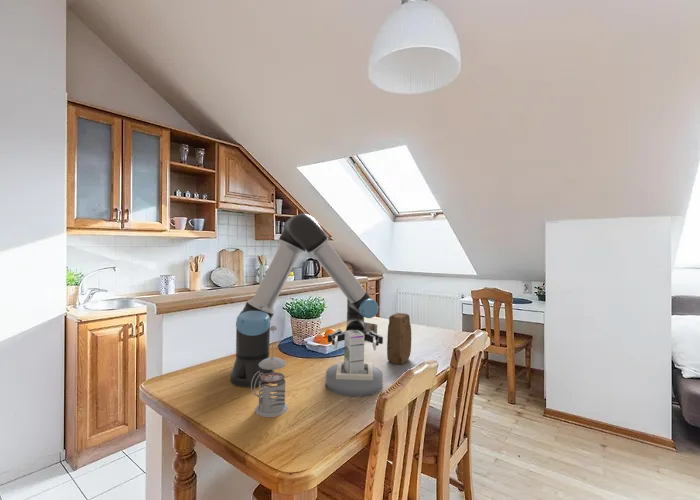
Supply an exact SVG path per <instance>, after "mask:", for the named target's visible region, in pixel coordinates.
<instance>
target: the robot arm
mask: <svg viewBox="0 0 700 500" xmlns="http://www.w3.org/2000/svg"><path fill="white" fill-rule="evenodd" d="M278 242H279V246H278V249H277V250H276V252H275V254H274V255H273V256H274V257H273V258H272V261H271V263H270V264H269V266H268V268H267V270H266V272H265V274H264V276H263V278H262V280H261V282H260V284H259V286H258V288H257V289H256V292H255V293H254V296H253V298H251V299H248V300H247V301H246V303H245V305H244V307H243V309H242V310H241V311H240V313H239V314H238V316H237V317H236V321H235V328H236V330H235V332H236V333H235V334H236V336H235V337H236V338H235V360H234V363H233V365H232V369H231V373H230V377H229V378H230V379H229V380H230V383H231V384H232V385H234V386H237V387H244V388H249V387H250V388H251V382H252V388H254V384H255V381H256V379H257V377H258V376H259V375H260V374H261V373H263V374H265V373H272V370H266V369H262V368H260V367H259V363H260V362H261V361H262V360H264V359H267V358H271V357H270V339H271V338H270V337H271V335H270V334H271V330H270V327H271V320H272V318H273V316H274V314H275V311H274V306H275V304H276V302H277V300H278V297H279V295H280V294H281V292H282V289H283V288H284V285H285V283H287V279H288V278H289V276H290V274H291V271H292V270H293V268H294V266H295V263H296V261H297V259H298V258H299V255H300V254H303V253H305V252H307V254H311V255H312V256H313V257H314V258H315V259H316V260H317V262H318V264H320V266H321V267H322V268H323V270H324V271H325V272H326V273H327V275H328V276H329V278H331V279H332V281H333V282H334V284H336V286H337V287H338V288H339V290H340V291H341V292H342V294H343V295H344V296H345V297H346V299H347V301H346V304H347V305H346V306H347V307H346V308H347V309H346V326H345V331H349V330H359V331H361V332H362V333H363V334H364V342H365V341H366V342H369V343H371V344H372V350H373V351H376V350H377V347H378V346H379V344H380V345H383V343H384V336H382V335H380V334H378V333H377V334H376V333H374V332H373V331H372V330H370V331H369V332H366V331H365V328H364V322H365V318H366V319H373V318H374V317H375V316H377V314H378V313H379V304H378V302H377V301H376V300H374V299H373V298H372V297H371V296H370V295H369V293H368V292H367V291H366V289H365V288H364V286H362V284H361V283H360V282H359V280H358V279H357V278H356V277H355V274H353V273H352V271H351V270H350V268H349V267H348V266H347V265H346V263H345V262H344V260H343V259H342V258H341V257H340V256H339V254H338V253H337V252H336V250H335V249H334V248H333V246H332V245H331V244H330V242H329V237H328V235H327V234H326V232H325V231H324V230H323V228H322V227H321V225H320V224H319V222H318V221H317V220H316V219H315V217H314V216H311V215H309V214H308V213H299V214H295V215H293V216H291V217H289V218H287V221H285V223H284V226H283V230H282V232H281V233H280V236H279V238H278ZM345 331H343V330H341V329H340V328H339V329H337V330H336V331H333V332H331V333H329V334H328V335H327V343H331V345H333V346H334V347H333V349H334V350H337V348H338V343H339V342H344V341H345ZM258 371H260V374H259V372H258ZM257 372H258V373H257ZM273 372H275V369H273ZM256 373H257V374H256ZM255 374H256V375H255ZM263 374H261V376H262V375H263ZM254 375H255V377H254ZM261 376H259V377H258V379H257V381H256V384H255V387H259V381H260V377H261ZM253 377H254V379H253ZM252 379H253V381H252ZM263 384H266V385H267V383H266V382H262V383H261V384H260V385H263Z"/></svg>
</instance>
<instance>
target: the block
mask: <svg viewBox="0 0 700 500" xmlns="http://www.w3.org/2000/svg"><path fill="white" fill-rule="evenodd" d="M411 352H412V325H411V320H410V314H408V313H405V312H404V313H403V312H402V313H401V312H397V313H394V314H391V315H390V316H389V318H388V327H387V341H386V354H387V355H386V357H387V361H388V362H390V363H392V364H396V365H403V364H406V363H407V362H408V360H409V358H410V356H411Z"/></svg>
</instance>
